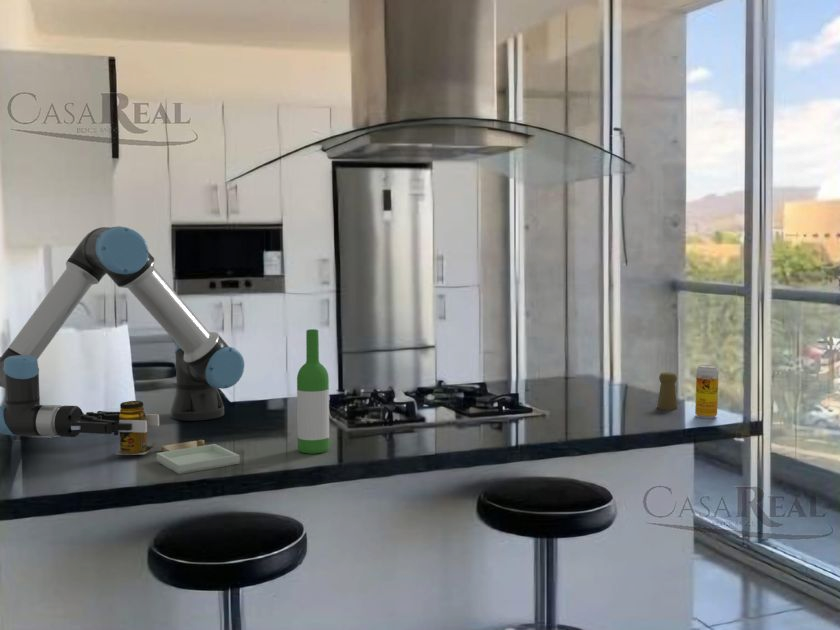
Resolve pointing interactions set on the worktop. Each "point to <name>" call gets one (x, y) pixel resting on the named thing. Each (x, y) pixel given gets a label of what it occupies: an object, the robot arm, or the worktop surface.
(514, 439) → the worktop surface
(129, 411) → the condiment
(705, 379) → the beer can
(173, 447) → the bench board
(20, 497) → the worktop surface
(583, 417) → the worktop surface
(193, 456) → the tray
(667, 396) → the cork
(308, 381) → the wine bottle
